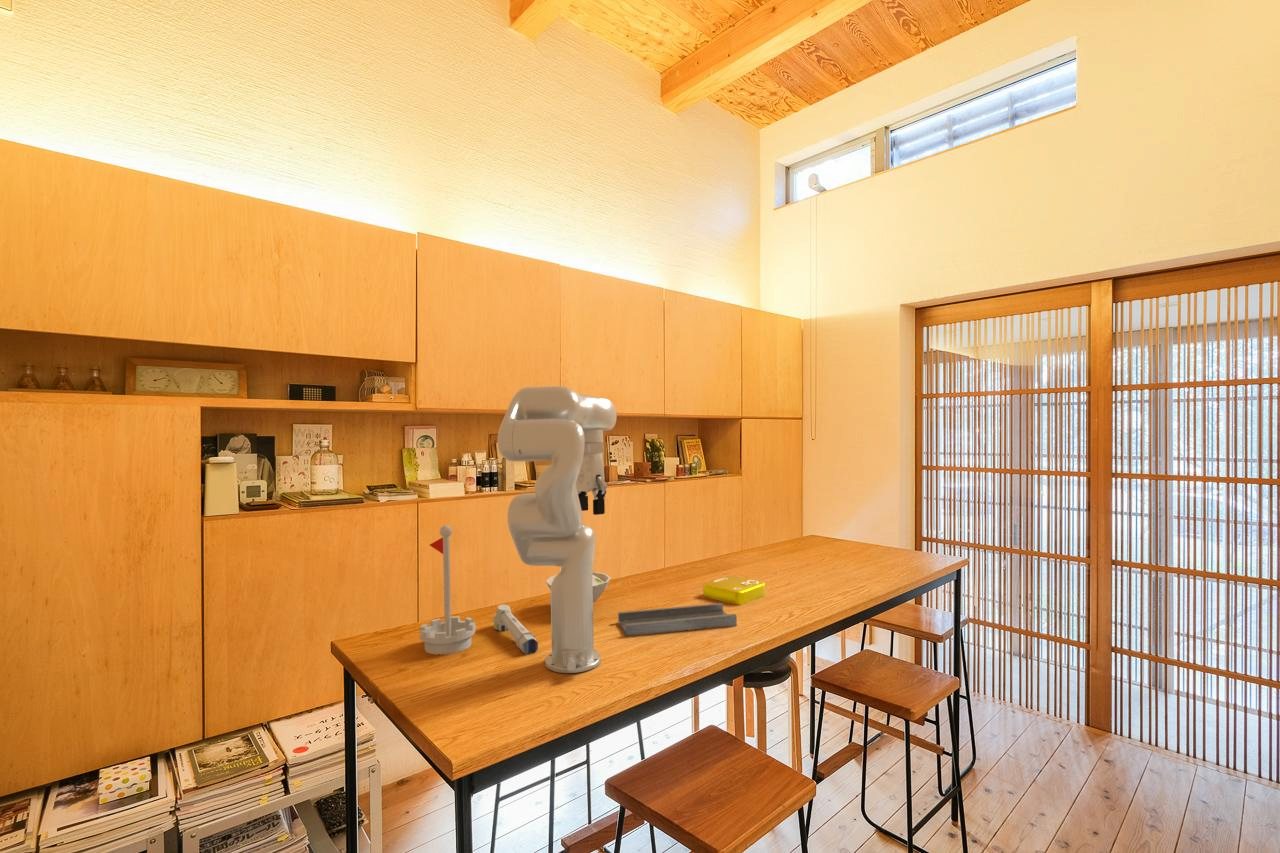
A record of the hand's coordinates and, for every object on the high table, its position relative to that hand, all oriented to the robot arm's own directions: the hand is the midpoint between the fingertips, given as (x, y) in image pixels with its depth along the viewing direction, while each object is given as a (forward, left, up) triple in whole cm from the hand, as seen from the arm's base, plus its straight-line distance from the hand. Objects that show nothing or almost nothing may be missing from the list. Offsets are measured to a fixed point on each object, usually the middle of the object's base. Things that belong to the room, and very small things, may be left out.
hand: (590, 512), depth 159 cm
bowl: (+15, +2, -31) cm, 34 cm away
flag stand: (-6, +37, -31) cm, 48 cm away
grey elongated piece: (-5, +21, -31) cm, 38 cm away
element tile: (+15, -47, -31) cm, 58 cm away
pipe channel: (-6, -22, -31) cm, 38 cm away
